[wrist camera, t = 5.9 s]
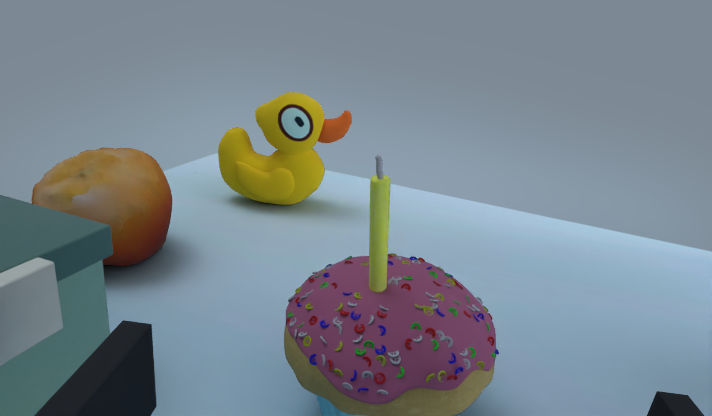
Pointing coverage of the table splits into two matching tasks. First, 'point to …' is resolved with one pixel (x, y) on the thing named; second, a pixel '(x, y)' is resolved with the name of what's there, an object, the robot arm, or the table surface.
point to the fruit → (113, 198)
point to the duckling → (281, 150)
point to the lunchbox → (47, 300)
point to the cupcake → (388, 332)
